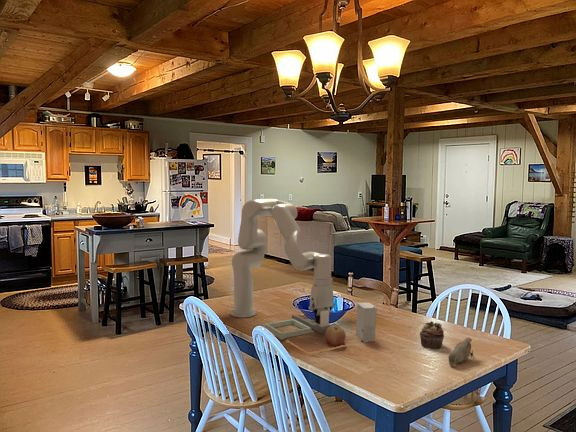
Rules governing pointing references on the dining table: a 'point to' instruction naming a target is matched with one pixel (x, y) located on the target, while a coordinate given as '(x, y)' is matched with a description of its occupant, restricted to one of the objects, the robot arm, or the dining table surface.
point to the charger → (323, 317)
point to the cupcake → (432, 336)
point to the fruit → (335, 335)
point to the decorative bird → (460, 352)
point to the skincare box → (366, 321)
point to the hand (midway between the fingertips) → (321, 322)
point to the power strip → (310, 323)
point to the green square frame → (283, 335)
